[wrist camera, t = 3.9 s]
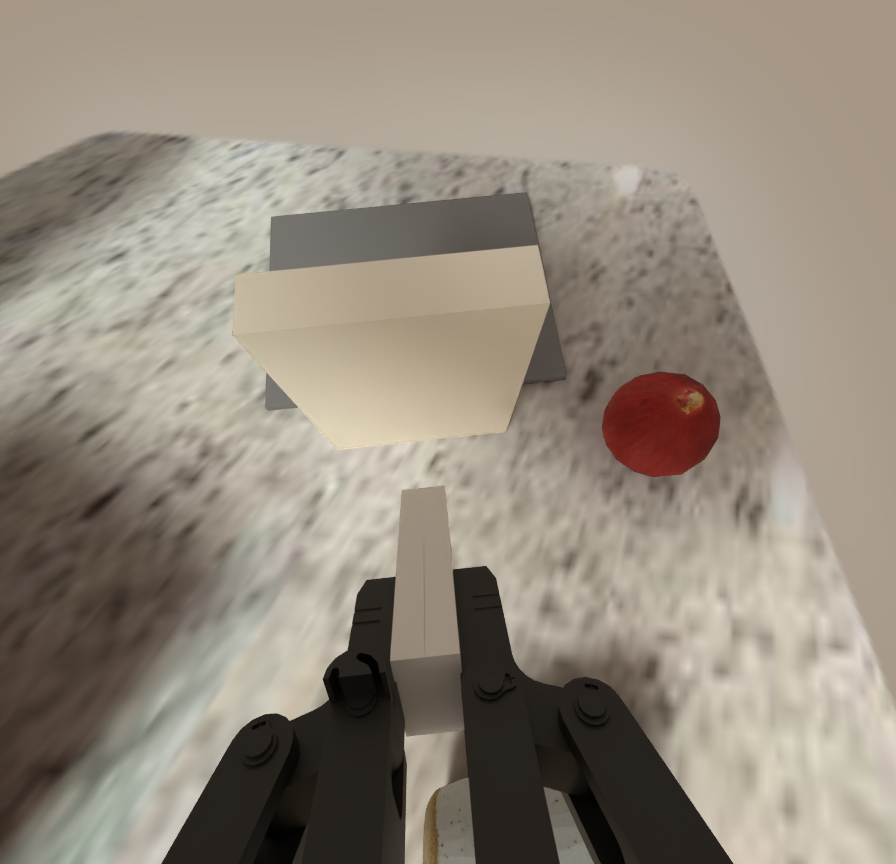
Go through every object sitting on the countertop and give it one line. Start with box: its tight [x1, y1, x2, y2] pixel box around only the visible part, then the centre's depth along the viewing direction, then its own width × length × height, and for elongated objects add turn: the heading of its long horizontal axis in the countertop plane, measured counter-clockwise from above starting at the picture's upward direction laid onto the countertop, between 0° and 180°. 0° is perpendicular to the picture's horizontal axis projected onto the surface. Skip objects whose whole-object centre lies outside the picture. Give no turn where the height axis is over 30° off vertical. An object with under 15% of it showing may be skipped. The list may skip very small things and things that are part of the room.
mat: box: [265, 192, 566, 410], centre depth 32 cm, size 16×20×1 cm
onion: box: [602, 372, 720, 477], centre depth 24 cm, size 6×6×8 cm
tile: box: [232, 245, 550, 450], centre depth 22 cm, size 11×3×14 cm, turn 96°
